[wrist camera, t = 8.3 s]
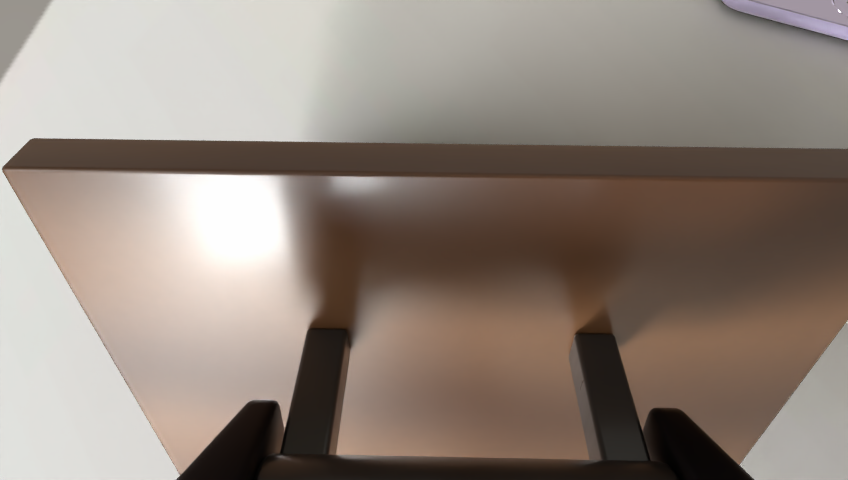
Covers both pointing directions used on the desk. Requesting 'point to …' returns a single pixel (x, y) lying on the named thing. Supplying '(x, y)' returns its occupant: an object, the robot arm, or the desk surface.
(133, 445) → the desk surface
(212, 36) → the desk surface
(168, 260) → the compartment lid
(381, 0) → the desk surface
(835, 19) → the mobile phone
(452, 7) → the desk surface
